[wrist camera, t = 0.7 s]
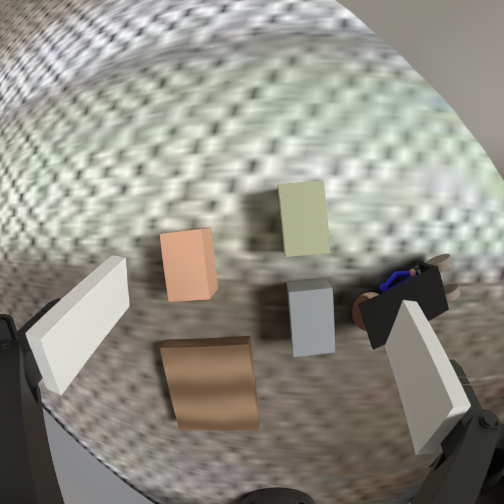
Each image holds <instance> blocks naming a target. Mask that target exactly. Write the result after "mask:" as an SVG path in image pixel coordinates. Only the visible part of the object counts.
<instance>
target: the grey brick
mask: <svg viewBox="0 0 504 504" xmlns="http://www.w3.org/2000/svg"><path fill="white" fill-rule="evenodd" d="M286 283H287V294H288V307H289V319H290V332H291V342H292V349H293V356H294V357H298V356H307V355H316V354H324V353H332V352H335V331H334V305H333V288H332V286H331V285H330V284H329V283H328V282H327V281H326V280H325V278H321V279H312V280H302V281H292V282H286Z"/></svg>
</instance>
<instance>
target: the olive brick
mask: <svg viewBox="0 0 504 504" xmlns="http://www.w3.org/2000/svg"><path fill="white" fill-rule="evenodd" d="M277 190H278V200H279V209H280V219H281V229H282V239H283V250H284V254H285V256H286V257H291V256H301V255H311V254H322V253H330V242H329V231H328V220H327V209H326V200H325V190H324V182H323V181H312V182H300V183H288V184H278V189H277Z"/></svg>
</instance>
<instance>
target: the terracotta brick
mask: <svg viewBox="0 0 504 504" xmlns="http://www.w3.org/2000/svg"><path fill="white" fill-rule="evenodd" d="M160 241H161V250H162V258H163V265H164V273H165V280H166V287H167V293H168V300H169V302H173V301H189V300H204V299H210V298H211V297H212V295H213V294H214V293H215V292H216V290H217V289H218V283H217V275H216V266H215V258H214V249H213V240H212V231H211V228H204V229H195V230H186V231H178V232H170V233H163V234H160Z"/></svg>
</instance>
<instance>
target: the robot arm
mask: <svg viewBox="0 0 504 504" xmlns="http://www.w3.org/2000/svg"><path fill="white" fill-rule="evenodd" d="M128 308H129V296H128V285H127V271H126V258H124V257H119V256H113V255H112V256H111V257H110V258H108V259H107V260H106V261H105V262H104V263H102V264H101V265H100V266H99V267H98V268H96V269H95V270H94V271H93V272H92V273H91V274H89V275H88V276H87V277H86V278H85V279H84V280H83V281H81V282H80V283H79V284H78V285H77V286H76V287H75V288H73V289H72V290H71V291H70V292H69V293H68V294H67V295H66V296H64V297H63V298H62V299H59V298H58V299H56V300H54V301H52V302H50V303H48V304H47V305H46V306H44V307H43V308H42V309H41V311H39V312H38V313H37V314H36V315H35V317H34V316H33V317H32V318H31V319H30V320H29V321H28V322H27V323H26V324H25V325H24V326H23V327H22V328H21V329H20V330H19V331H17V330H16V327H15V324H14V321H13V318H12V317H11V316H10V315H6V314H0V504H64V501H63V497H62V494H61V491H60V487H59V484H58V480H57V477H56V473H55V470H54V465H53V462H52V457H51V452H50V448H49V443H48V438H47V433H46V428H45V421H44V416H43V409H42V402H41V394H40V389H39V386H38V383H39V382H40V380H41V379H43V381H44V383H45V386H46V388H47V389H49V390H51V391H53V392H55V393H57V394H60V395H62V394H63V393H64V391H65V390H66V388H67V387H68V386H69V384H70V383H71V382H72V380H73V379H74V377H75V376H76V375H77V373H78V372H79V371H80V369H81V368H82V367H83V365H84V364H85V363H86V361H87V360H88V359H89V357H90V356H91V355H92V353H93V352H94V351H95V350H96V348H97V347H98V346H99V344H100V343H101V342H102V340H103V339H104V338H105V337H106V335H107V334H108V333H109V331H110V330H111V329H112V328H113V326H114V325H115V324H116V323H117V321H118V320H119V319H120V318H121V316H122V315H123V314H124V313H125V311H126V310H127V309H128ZM385 349H386V352H387V355H388V358H389V361H390V364H391V367H392V370H393V374H394V377H395V380H396V383H397V387H398V390H399V393H400V397H401V400H402V404H403V407H404V411H405V414H406V418H407V422H408V425H409V429H410V433H411V437H412V441H413V445H414V449H415V453H416V455H419V454H429V453H433V452H434V451H435V450H436V449H437V448H438V446H439V445H440V444H441V446H442V450H443V452H442V453H441V454H440V455H439V456H438V457H437V458H436V459H435V461H434V462H433V463H432V464H431V465H430V466H429V467H430V468H431V467H432V466H433V465H434V466H433V467H432V469H431V471H430V473H429V474H428V476H427V478H426V480H425V481H424V483H423V485H422V486H421V488H420V489H419V491H418V493H417V494H416V496H415V497H414V499H413V500H412V502H411V503H410V504H504V424H502V423H500V421H499V419H498V417H497V416H496V415H495V414H494V413H493V412H491V411H489V410H486V409H482V407H481V405H480V403H479V401H478V399H477V397H476V395H475V393H474V391H473V389H472V387H471V385H470V383H469V381H468V379H467V378H466V375H465V373H464V371H463V369H462V367H461V366H460V365H459V364H458V363H457V362H456V361H455V360H449V359H448V357H447V355H446V353H445V351H444V350H443V348H442V346H441V344H440V342H439V340H438V338H437V337H436V335H435V333H434V331H433V329H432V327H431V326H430V324H429V322H428V320H427V319H426V317H425V315H424V313H423V312H422V310H421V308H420V307H419V305H418V303H417V302H414V301H406V300H403V301H402V304H401V307H400V309H399V312H398V315H397V317H396V320H395V322H394V325H393V327H392V330H391V332H390V335H389V337H388V340H387V342H386V344H385ZM239 504H315V502H314V500H313V499H312V498H311V497H310V496H309V495H307V494H305V493H303V492H300V491H297V490H293V489H286V488H271V489H264V490H259V491H256V492H253V493H250V494H248V495H247V496H245V497H244V498H242V499H241V500H240V502H239Z"/></svg>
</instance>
